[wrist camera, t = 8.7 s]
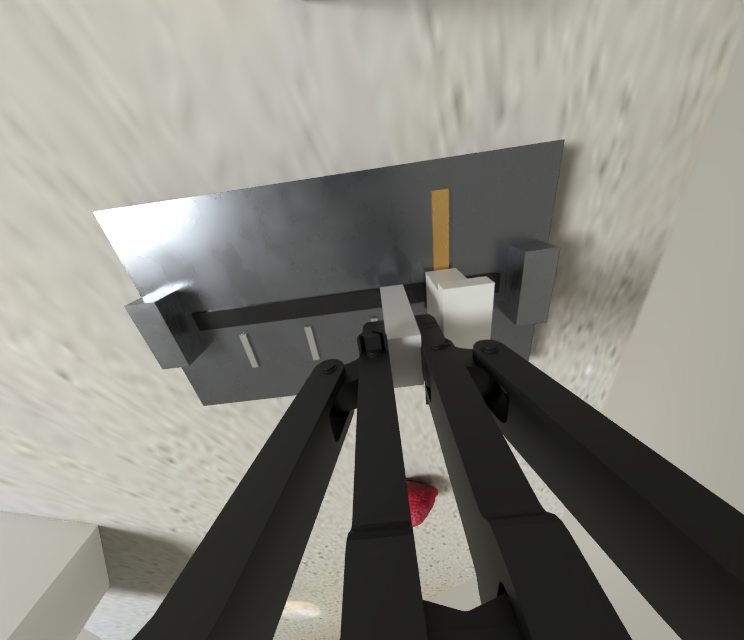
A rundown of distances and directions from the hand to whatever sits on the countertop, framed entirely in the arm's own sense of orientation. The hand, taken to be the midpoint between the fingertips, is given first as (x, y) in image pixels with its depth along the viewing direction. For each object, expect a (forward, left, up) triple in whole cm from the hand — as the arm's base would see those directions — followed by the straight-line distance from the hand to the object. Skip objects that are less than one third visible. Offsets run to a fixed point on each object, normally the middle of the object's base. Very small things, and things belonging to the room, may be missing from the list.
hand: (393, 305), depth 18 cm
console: (0, -3, -3) cm, 5 cm away
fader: (0, +3, -1) cm, 4 cm away
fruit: (+25, 0, -4) cm, 26 cm away
